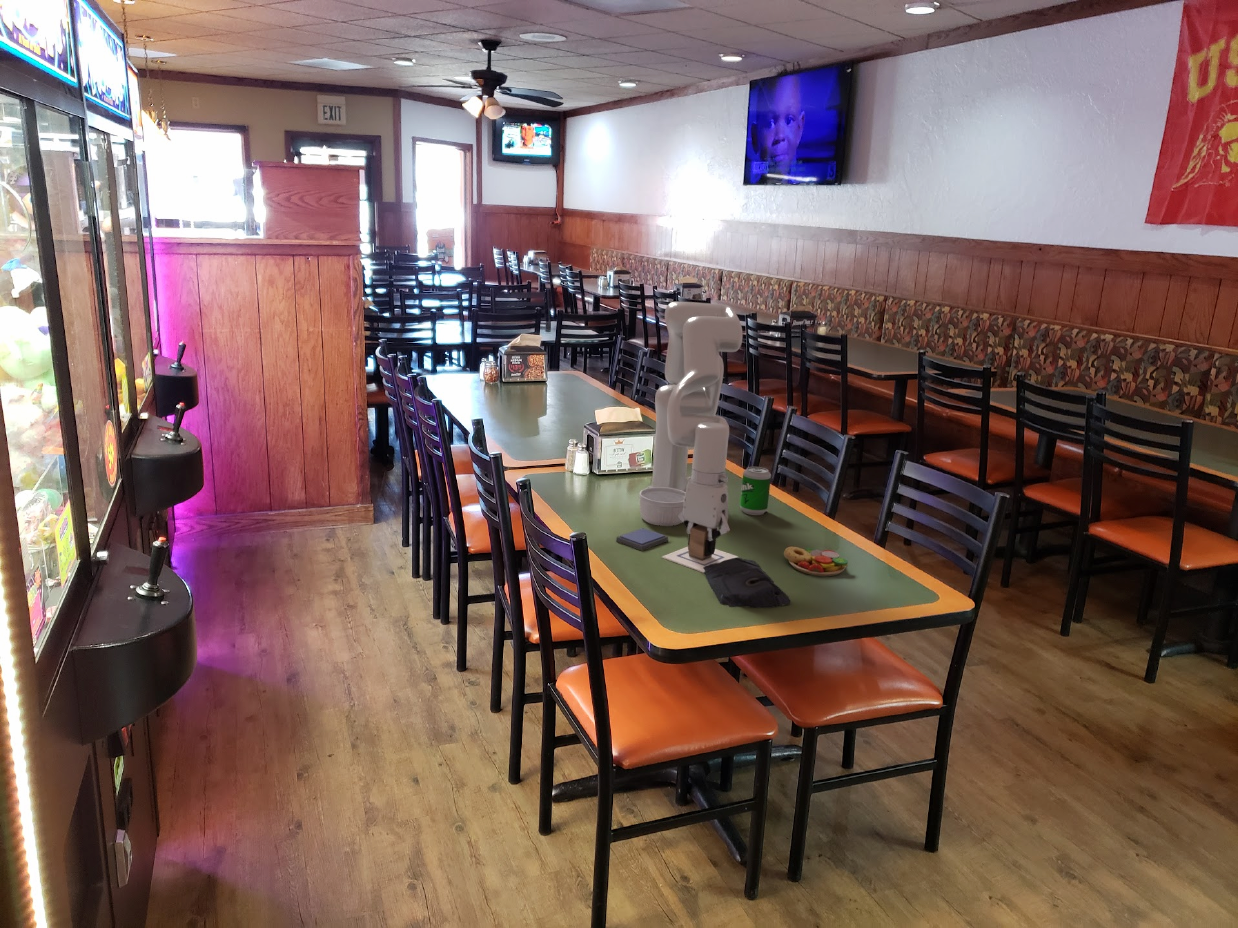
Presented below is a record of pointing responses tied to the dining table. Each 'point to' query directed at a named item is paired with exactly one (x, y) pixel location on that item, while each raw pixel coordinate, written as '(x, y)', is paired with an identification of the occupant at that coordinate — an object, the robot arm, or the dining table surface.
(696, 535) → the stamp
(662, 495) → the ramekin
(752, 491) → the soda can
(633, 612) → the dining table surface
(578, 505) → the dining table surface
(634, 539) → the ink pad
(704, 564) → the sheet
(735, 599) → the black fabric pouch
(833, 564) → the toy food set
